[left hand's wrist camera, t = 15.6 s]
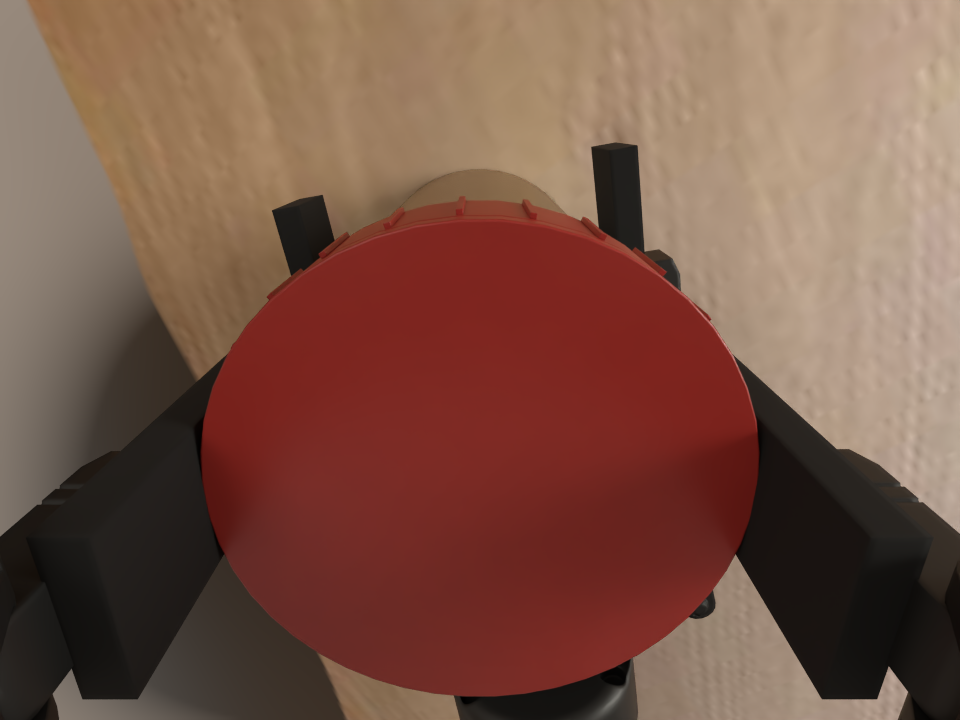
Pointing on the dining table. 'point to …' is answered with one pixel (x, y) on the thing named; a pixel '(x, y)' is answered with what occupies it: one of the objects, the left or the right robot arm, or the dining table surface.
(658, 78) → the dining table surface
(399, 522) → the lid
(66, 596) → the left robot arm
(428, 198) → the jar
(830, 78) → the dining table surface
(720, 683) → the dining table surface
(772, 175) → the dining table surface
